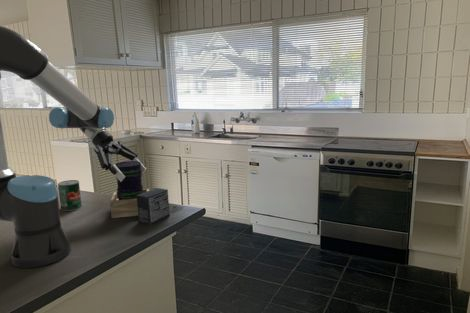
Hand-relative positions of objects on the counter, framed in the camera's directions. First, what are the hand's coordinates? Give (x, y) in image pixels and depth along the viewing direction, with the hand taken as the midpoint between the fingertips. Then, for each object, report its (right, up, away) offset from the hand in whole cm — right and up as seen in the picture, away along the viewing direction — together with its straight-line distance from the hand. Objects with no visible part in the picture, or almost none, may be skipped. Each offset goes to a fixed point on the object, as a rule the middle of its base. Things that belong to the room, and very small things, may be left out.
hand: (134, 175), depth 136 cm
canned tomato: (-28, -14, +8) cm, 33 cm away
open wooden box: (-2, -14, +4) cm, 15 cm away
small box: (+9, -16, -6) cm, 20 cm away
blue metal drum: (-2, -10, +3) cm, 11 cm away
